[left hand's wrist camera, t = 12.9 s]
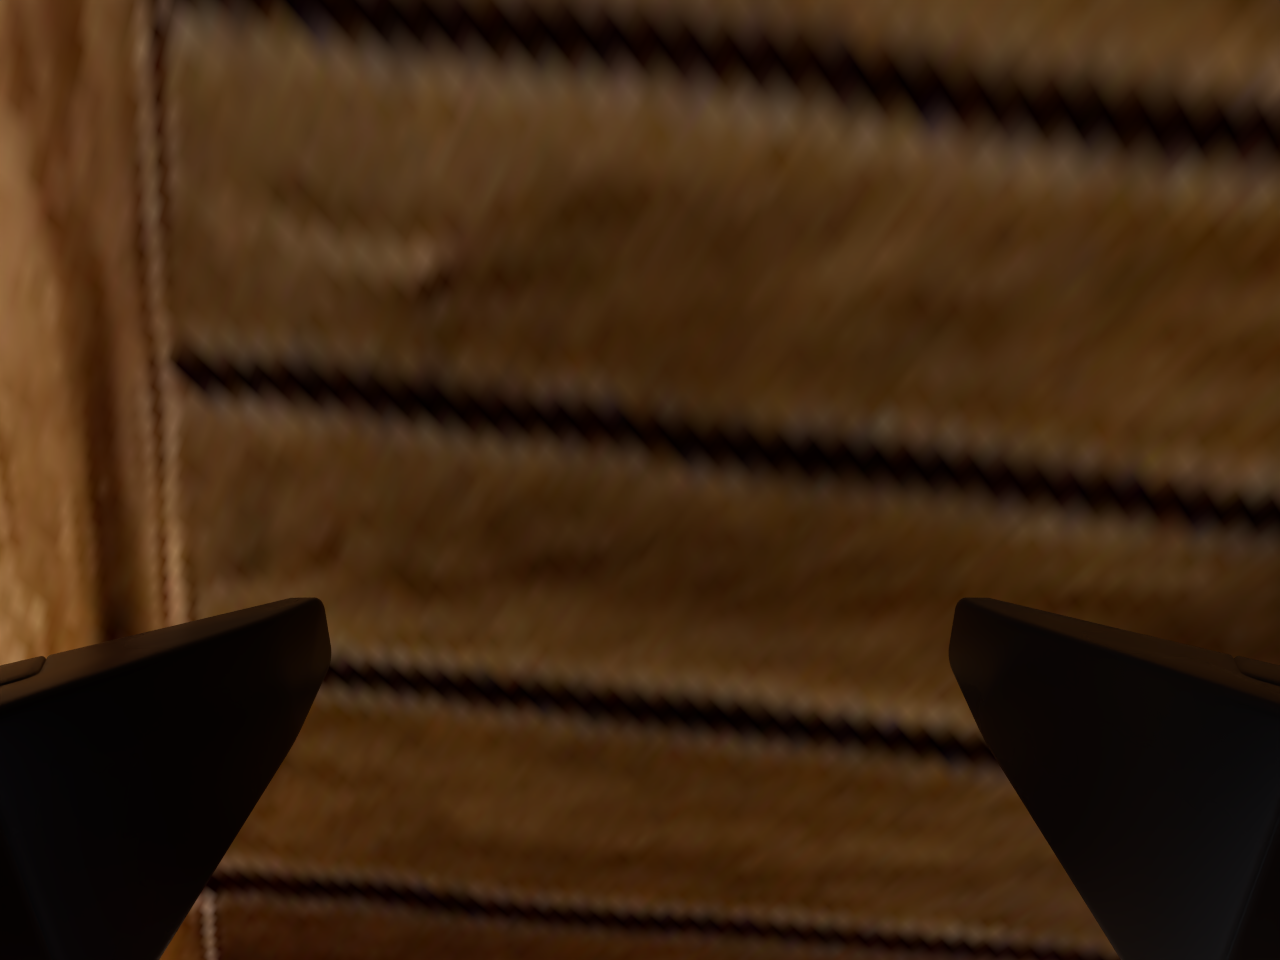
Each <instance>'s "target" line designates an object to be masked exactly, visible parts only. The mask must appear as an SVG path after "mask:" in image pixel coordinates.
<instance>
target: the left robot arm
mask: <svg viewBox="0 0 1280 960" xmlns="http://www.w3.org/2000/svg"><path fill="white" fill-rule="evenodd" d="M330 661H331V645H330V638H329V632H328V626H327V620H326V614H325V608H324V605H323V603H322V602H321V600H319V599H318V598H289V599H285V600H280V601H276V602H272V603H268V604H264V605H259V606H255V607H251V608H247V609H242V610H238V611H234V612H230V613H226V614H221V615H217V616H213V617H209V618H204V619H200V620H196V621H192V622H188V623H183V624H179V625H175V626H171V627H167V628H162V629H158V630H154V631H150V632H145V633H141V634H137V635H133V636H129V637H124V638H120V639H116V640H112V641H107V642H103V643H99V644H95V645H91V646H86V647H82V648H78V649H74V650H69V651H65V652H61V653H57V654H53V655H49V656H48V657H47V659H46V658H45V657H43V656H40V657H35V658H31V659H27V660H22V661H18V662H14V663H10V664H5V665H1V666H0V960H159V959H160V957H161V956H162V954H163V953H164V951H165V949H166V948H167V946H168V944H169V943H170V941H171V940H172V938H173V936H174V935H175V933H176V932H177V930H178V928H179V927H180V925H181V924H182V922H183V920H184V919H185V917H186V916H187V914H188V912H189V911H190V909H191V908H192V906H193V904H194V903H195V901H196V900H197V898H198V896H199V895H200V893H201V892H202V890H203V888H204V887H205V885H206V884H207V882H208V880H209V879H210V877H211V876H212V874H213V872H214V871H215V869H216V868H217V866H218V864H219V863H220V861H221V860H222V858H223V856H224V855H225V853H226V852H227V850H228V848H229V847H230V845H231V844H232V842H233V840H234V839H235V837H236V836H237V834H238V832H239V831H240V829H241V827H242V826H243V824H244V823H245V821H246V819H247V818H248V816H249V815H250V813H251V811H252V810H253V808H254V807H255V805H256V803H257V802H258V800H259V799H260V797H261V795H262V794H263V792H264V791H265V789H266V787H267V786H268V784H269V783H270V781H271V779H272V778H273V776H274V775H275V773H276V771H277V770H278V768H279V767H280V765H281V763H282V762H283V760H284V759H285V757H286V755H287V754H288V752H289V750H290V749H291V747H292V745H293V743H294V742H295V740H296V738H297V736H298V734H299V732H300V730H301V728H302V726H303V723H304V721H305V719H306V717H307V715H308V712H309V710H310V708H311V706H312V704H313V702H314V699H315V697H316V695H317V693H318V691H319V688H320V686H321V684H322V682H323V680H324V677H325V675H326V673H327V671H328V668H329V665H330ZM949 661H950V665H951V668H952V671H953V673H954V675H955V677H956V680H957V682H958V684H959V686H960V688H961V691H962V693H963V695H964V697H965V699H966V702H967V704H968V706H969V708H970V710H971V712H972V715H973V717H974V719H975V721H976V723H977V726H978V728H979V730H980V732H981V734H982V736H983V738H984V740H985V742H986V743H987V745H988V747H989V749H990V750H991V752H992V754H993V755H994V757H995V759H996V760H997V762H998V763H999V765H1000V767H1001V768H1002V770H1003V771H1004V773H1005V775H1006V776H1007V778H1008V779H1009V781H1010V783H1011V784H1012V786H1013V787H1014V789H1015V791H1016V792H1017V794H1018V795H1019V797H1020V799H1021V800H1022V802H1023V803H1024V805H1025V807H1026V808H1027V810H1028V811H1029V813H1030V815H1031V816H1032V818H1033V819H1034V821H1035V823H1036V824H1037V826H1038V827H1039V829H1040V831H1041V832H1042V834H1043V835H1044V837H1045V839H1046V840H1047V842H1048V843H1049V845H1050V847H1051V848H1052V850H1053V851H1054V853H1055V855H1056V856H1057V858H1058V860H1059V861H1060V863H1061V864H1062V866H1063V868H1064V869H1065V871H1066V872H1067V874H1068V876H1069V877H1070V879H1071V880H1072V882H1073V884H1074V885H1075V887H1076V888H1077V890H1078V892H1079V893H1080V895H1081V896H1082V898H1083V900H1084V901H1085V903H1086V904H1087V906H1088V908H1089V909H1090V911H1091V912H1092V914H1093V916H1094V917H1095V919H1096V920H1097V922H1098V924H1099V925H1100V927H1101V928H1102V930H1103V932H1104V933H1105V935H1106V936H1107V938H1108V940H1109V941H1110V943H1111V944H1112V946H1113V948H1114V949H1115V951H1116V952H1117V954H1118V956H1119V957H1120V959H1121V960H1280V666H1279V665H1275V664H1270V663H1266V662H1262V661H1258V660H1253V659H1249V658H1245V657H1240V656H1237V657H1235V658H1234V659H1233V657H1232V656H1231V655H1228V654H1223V653H1219V652H1215V651H1211V650H1207V649H1202V648H1198V647H1194V646H1190V645H1185V644H1181V643H1177V642H1173V641H1169V640H1164V639H1160V638H1156V637H1152V636H1147V635H1143V634H1139V633H1135V632H1131V631H1126V630H1122V629H1118V628H1114V627H1109V626H1105V625H1101V624H1097V623H1092V622H1088V621H1084V620H1080V619H1076V618H1071V617H1067V616H1063V615H1059V614H1054V613H1050V612H1046V611H1042V610H1038V609H1033V608H1029V607H1025V606H1021V605H1016V604H1012V603H1008V602H1004V601H1000V600H995V599H991V598H962V599H961V600H959V601H958V603H957V605H956V608H955V614H954V620H953V626H952V632H951V638H950V644H949Z"/></svg>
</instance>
